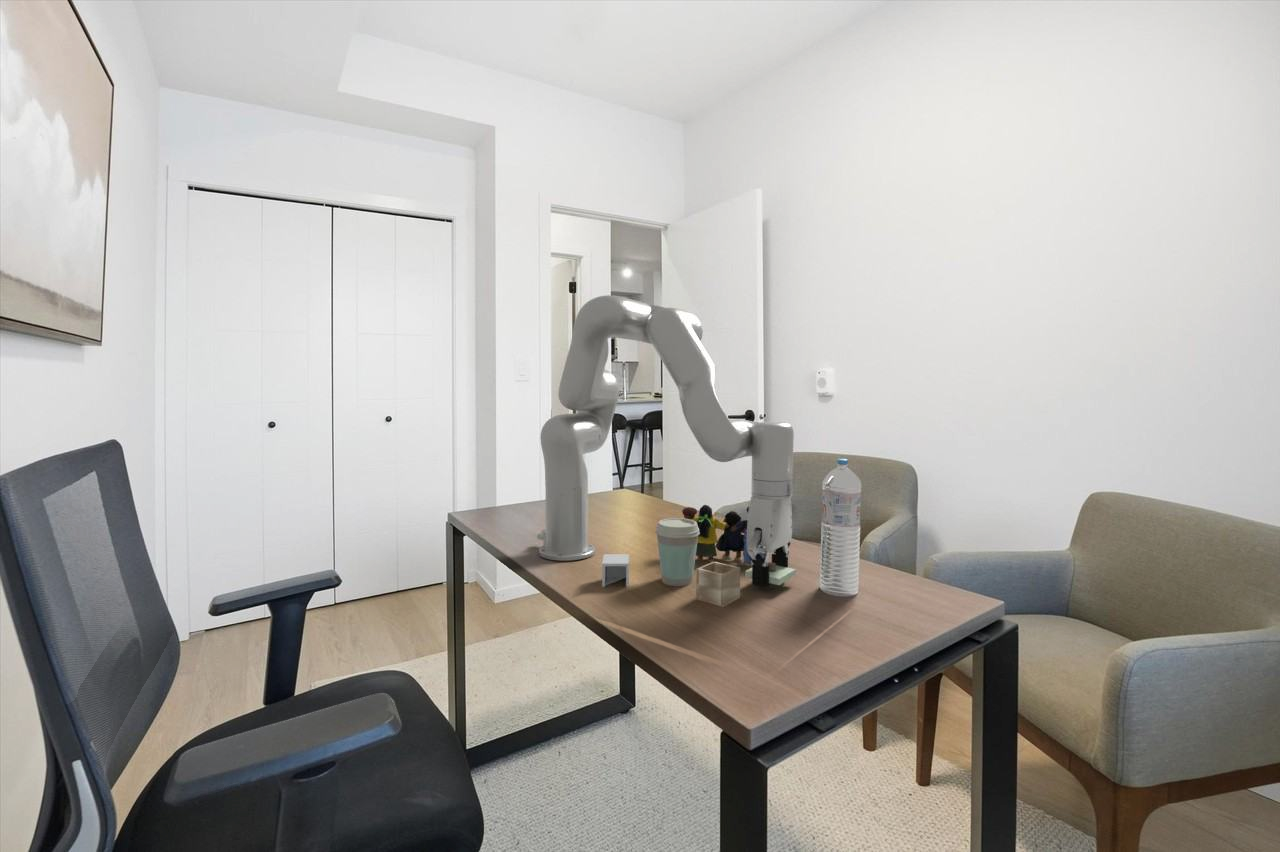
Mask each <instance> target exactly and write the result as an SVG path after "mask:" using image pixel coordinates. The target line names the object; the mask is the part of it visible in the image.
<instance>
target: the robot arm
mask: <svg viewBox="0 0 1280 852" xmlns="http://www.w3.org/2000/svg"><path fill="white" fill-rule="evenodd" d="M703 332H704V331H703V326H702V323H701V322H700V320H699V318H698V317H697V316H696V315H695V314H693V313H691V312H690V311H687V310H682V309H679V308H676V307H664V306H659V305H657V304H656V305H655V304H651V303H648V302H647V303H646V302H644V301H643V302H642V301H639V300H636V299H632V298H628V297H625V296H624V297H623V296H619V295H609V294H608V295H600V296H596V297H594V298H592V299H589V300H588V301H587V302H586V303H584V304H583V306H582V307H581V308H580V309H579V311H578V313H577V315H576V317H575V320H574V326H573V330H572V334H571V335H572V336H571V341H570V345H569V350H568V352H567V356H566V359H565V363H564V367H563V369H562V370H563V371H562V374H561V378H560V382H559V387H558V393H557V394H558V399H559V401H560V403H561V405H562V406H563V407H564V408H566V409H567V410H571V411H577V412H576V413H572V412H571V413H563V414H558V415H555V416H552V417H550V418H549V419H548V420H547V421H545V423H544V424H543V426H542V428H541V432H540V438H539V439H540V446H541V450H542V456H543V461H544V481H545V482H544V483H545V484H544V486H545V528H544V529H542V530H541V532H539V533H537V535H536V537H537V539H538V540H541V541H543V544H542V545H541V546H540V547H539V549H538V554H539V556H540V557H542V558H544V559H547V560H551V561H559V562H560V561H563V562H566V561H568V562H570V561H578V560H583V559H588V558H590V557H592V556H594V554H595V553H596V547H595V546H594V545H593V544H592V543H589V483H588V482H589V480H588V479H589V476H588V469H587V465H586V462H585V459H584V457H583V455H584V454H590V453H592V452H593V453H594V452H596V451H598V450H599V449H601V447H603V446H604V444H605V443H606V441H607V438H608V436H609V433H610V431H611V430H610V429H611V427H612V422H613V419H614V415H615V412H616V408H617V405H618V401H619V395H620V390H619V389H620V388H619V387H620V386H619V383H618V380H617V378H616V377H615V376H614V374H613V373H612V372H610V370H607V369H605V368H606V364H607V362H608V359H609V358H608V357H609V339H610V338H618V339H623V340H631V341H637V342H641V343H647V344H650V345H652V346H653V347H654V350H655V351H656V353H657V355H658V356H659V358H660V359H661V361H662V364H664V366H665V368H666V370H667V372H668V373H669V375H670V377H671V378H672V380H673V381H674V384H675V385H676V387H677V390H678V393H679V394H678V396H679V401H680V405H681V409H682V413H683V415H684V419H685V421H686V424H687V426H688V427H689V429H690V431H691V433H692V434H693V436H694V438H695V439H696V442H697V443H698V444H699V446H700V448H701V449H702V451H703V452H704V453H705V454H706V455H707V456H708V457H709V458H711V460H714V461H716V462H720V463H729V462H732V461H734V460H737V459H742V458H745V457H746V458H747V457H751V497H750V499H749V500H750V501H749V505H748V507H749V512H747V520H748V523H747V540H746V543H747V552H748V553H749V555H750V559H751V564H752V565H751V568H752V579H751V583H752V586H757V587H759V588H760V587H761V588H764V589H768V588H769V587H770V583H769V566H767V563H768V562H769V560H770V559H769V558H770V554H771V552H773V553H772V554H771V562H772V563H775V564H776V565H777V566H782V567H787V568H789V555H790V549H789V548H790V546H791V540H792V536H793V514H792V512H793V511H792V510H793V509H792V500H791V498H793V485H794V482H793V481H794V480H793V477H794V475H793V473H794V427H793V426H792V425H791V424H790V423H787V422H781V421H763V422H760V421H759V422H758V421H752V420H747V419H739V418H738V419H737V418H735V419H729V417H728V415H727V413H726V412H725V411H724V408H723V407H722V405H721V403H720V401H719V399H718V397H717V394H716V389H715V385H714V384H715V379H716V378H715V377H716V373H717V367H716V365H715V363H714V361H713V360H712V358H711V356H710V355H709V353H708V352H707V350H706V348H705V347H704V346H703V344H702V342H701V340H702V339H703V334H704V333H703ZM759 546H763V548H764V547H765V548H764V549H763V548H759ZM759 552H762V553H764V556H763V558H762V556H761V555H760V554H759Z"/></svg>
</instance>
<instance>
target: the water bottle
mask: <svg viewBox="0 0 1280 852" xmlns="http://www.w3.org/2000/svg"><path fill="white" fill-rule="evenodd" d="M848 463H849V459H847V458H837V459H836V465H837V467H835V468H833V469H832V470H831V471H830V472H828V473H827V475H826V476H825V477H824V478H823V480H822V486H821V488H822V509H821V510H822V511H821V514H822V516H821V525H820V526H821V528H820V530H821V531H820V532H821V533H820V557H819V558H820V563H819V564H820V566H819V570H820V571H819V574H820V575H819V587H820V591H821V592H823V593H824V594H827V595H830V596H834V597H847V598H849V597H854V596H856V595H857V594H858V592H859V577H860V575H859V574H860V569H859V568H860V553H861V552H860V548H861V547H860V546H861V544H860V543H861V524H860V523H861V498H862V497H861V496H862V495H861V492H862V482H861V479H860V477H858V475H857V474H856V473H855V472H854V471H853V470H851V469H850V468H848V465H849V464H848Z"/></svg>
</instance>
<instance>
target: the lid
mask: <svg viewBox="0 0 1280 852" xmlns="http://www.w3.org/2000/svg"><path fill="white" fill-rule="evenodd" d="M767 566H769V584H772V585H777V586H781V585H782V584H784V583H786V582H787V581H789V580H791V579H793V578H794V577H796V576H797V569H796V568H791V567H788V568H787V567H782V566H777V565H776V564H775V563H772V561H770V562H769V561H768V563H767ZM744 577H745V578H748V579H750V580H752V567H750V568H748V569H746V570H744Z"/></svg>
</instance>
